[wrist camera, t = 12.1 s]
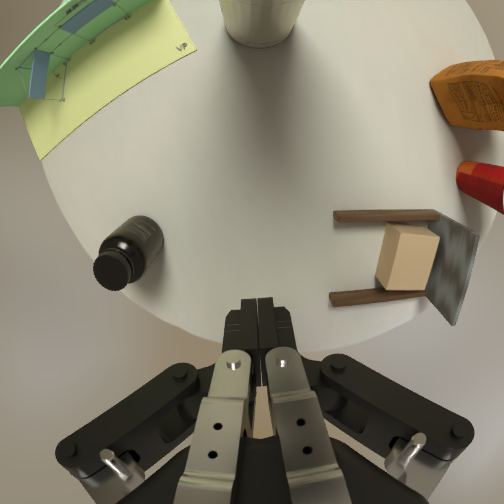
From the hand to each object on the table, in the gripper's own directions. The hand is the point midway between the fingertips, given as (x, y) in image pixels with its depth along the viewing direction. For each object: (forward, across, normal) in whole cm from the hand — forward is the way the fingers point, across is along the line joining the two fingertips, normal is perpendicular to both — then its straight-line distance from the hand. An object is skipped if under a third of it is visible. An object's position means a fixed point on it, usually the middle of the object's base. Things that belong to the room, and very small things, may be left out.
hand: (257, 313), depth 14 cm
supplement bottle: (+27, +17, +5) cm, 33 cm away
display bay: (+27, -20, +11) cm, 35 cm away
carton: (+28, -23, +11) cm, 37 cm away
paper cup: (+28, -36, -2) cm, 46 cm away
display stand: (+28, +22, -21) cm, 42 cm away
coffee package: (+28, -34, -16) cm, 47 cm away
